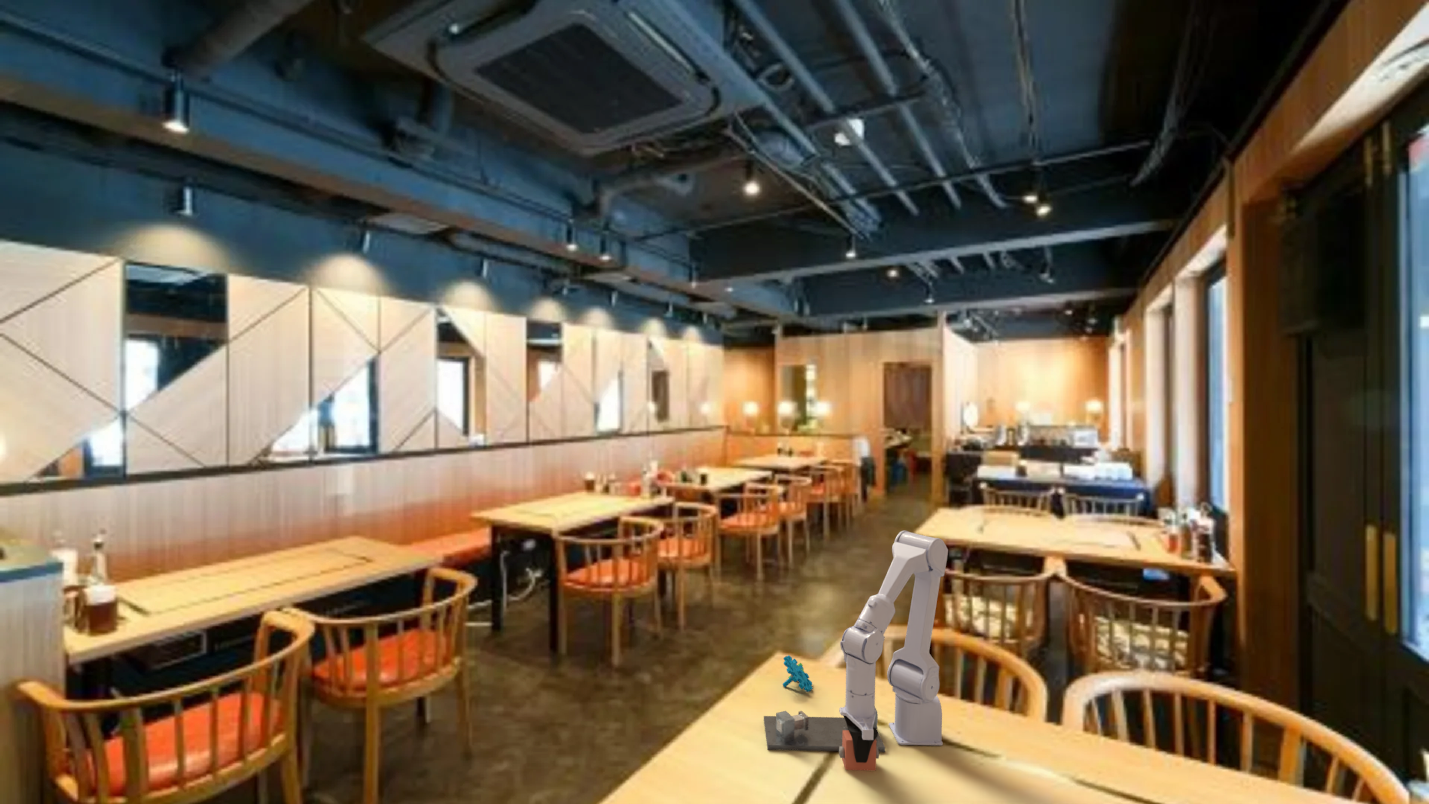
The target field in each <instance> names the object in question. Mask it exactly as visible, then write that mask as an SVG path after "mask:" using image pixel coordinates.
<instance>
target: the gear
mask: <svg viewBox="0 0 1429 804" xmlns="http://www.w3.org/2000/svg"><path fill="white" fill-rule="evenodd" d="M783 660H784V661H783V665H784V666H785V667H787V668H786V672H787V674H790V675H789V676H788V678H787V679H786V680H785V681H784V682H783V683H782V686H783V687H784V688H786V687H787V686H789V685H790V684H791V683H792V682H794V683H796V682H798V687H799V688H800V689H801V690H804V691H805V692H806V693H809V692H811V691H813V689H814V688H813V686H812V685H813V682H812V681H811V680H810V679H809V678H810V676H809V673H806V672H805V669H804V667H803V666H804V665H803V663H801V662H799V663H798V660H797V659H796V658H793V657H792V656H791V655H789V654H788V655H785V657H783Z"/></svg>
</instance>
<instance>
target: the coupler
mask: <svg viewBox="0 0 1429 804" xmlns="http://www.w3.org/2000/svg"><path fill="white" fill-rule="evenodd" d="M838 753H839V758H840V759H841V760H842V763H843V767H844V770H845V771H876V770H877V759H878V760H879V759H880V752H879V750H878V747H876V739H875V740H874V742H873V744H872V746H871V749H870V753H869V756H868V760H867V762H866V763H857V762H856V759H855V755H854V747H853V741H852V737H851V734H850V732H849V730H843V736H842V747H839V751H838Z"/></svg>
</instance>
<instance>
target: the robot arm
mask: <svg viewBox="0 0 1429 804" xmlns="http://www.w3.org/2000/svg"><path fill="white" fill-rule="evenodd" d="M891 547H892V548H891V552H892V557H893V558H892V561H891V564H890V566H889V567H888V570H887V573H885V574H886V575H885V577H884V579H883V581H882V584H881V586H880V589H879V591H878V593H877V594H874V595H871V596H869V598H868V599H867V602H866V603H865V604H864V607H863V609H862V610H861V613H860V614H859V616H858V618H857V619H856V621H855V623H854V624H853V626H850V627H847V628H846V629H845V630H844V632H843V634H842V637H841V641H840V642H839V645H840V650H841V651H842V653H843V661H844V663H846V665H845V667H846V668H845V705H844V707H843V706H842V707H839V714H840V715H841V717H843V718H845V721H846V724H847V728H848V730H849V732H850V734H851V737H852V741H853V747H854V755H855V759H856V762H857V763H866V762H867V760H868V756H869V753H870V749H871V746H872V744H873V742H874V740H875V739H876V738H877V736H878V733H879V731H878V728H877V729H876V728H873V725H874V720H875V708H876V702H875V701H876V667H877V666H876V662H877V661H878V659H879V658H880V657H881V655H882V653H883V649H884V643H885V642H884V641H885V635H884V634H885V633H886V631H887V629H888V628H889V626H890V623H891V622H892V619H893V618H894V615H896V608H895V604H894V603H895V601H896V600H897V598H898V596H899V595H900V594H901V592H902V591H903V589H904V587H905V586H906V585H907V582H908V581H909V580H910V578H911V576H912V575H914V585H913V590H912V595H911V596H912V598H911V601H910V602H911V603H910V609H909V615H908V621H907V627H906V634H905V640H904V646H903V647H901V648H899V649H898V650H896V651H894V652H893V653H892V658H891V661H890V664H889V666H888V668H887V673H886V674H887V675H886V676H887V681H888V684H889V685H890V686H892V692H894V693H895V694H894V696H895V700H894V705H895V706H894V722H889V723H888V727H889V728H890V731H891V732H892V735H893V736H894V738H895V740H896V742H897V744H898V745H903V746H904V745H905V746H907V745H909V746H943V741H942V738H943V737H942V735H943V734H942V733H943V732H942V731H943V710H942V704H941V701H940V698H939V697H938V693H939V690H940V676H939V675H940V674H939V673H940V672H939V671H940V666H939V664H938V663H937V662H936V660H935V659H934V657H932V655H931V654H930V649H931V648H930V647H931V641H932V635H933V628H934V621H935V615H936V608H937V601H938V597H939V589H940V585H941V577H944V576H945V572H946V568H947V567H946V566H947V561H948V553H949V549H948V547H947V545H946V543H945V541H944V540H943V539H942V538H939V537H933V536H928V535H924V534H919V533H915V532H910V531H908V530H901V531H899V532H898V534H897V535H896V537H895V539H894V543H893V544H892V546H891Z"/></svg>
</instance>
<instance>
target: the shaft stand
mask: <svg viewBox="0 0 1429 804" xmlns="http://www.w3.org/2000/svg"><path fill="white" fill-rule="evenodd" d="M878 716H879V715H878V710H877V708H876V707H875V720H874V725H873V728H876V729H877V730H878V723H879V722H878ZM763 725H764V733H765V738H766V740H765V741H766V747H767V750H768V751H803V752H805V751H807V752H809V751H810V752H811V751H812V752H813V751H814V752H839V747H842V736H843V730H848V728H847V724H846V721H845V718H844V717H842V716H841V717H840V716H839V717H837V716H836V717H834V716H830V717H829V716H828V717H827V716H826V717H825V716H808V715H807V714H806V713H805V712H803V711H802V710H800V711H798V713H797V714H795V715H791V714H790V713H789V712H788V711H787V710H783V711H780V712H776V714H775V715H763ZM876 747H878V750H879V753H886V746H885V744H884V742H883V740H882V737H881V735H880V733H879V732H878V736H877V738H876Z"/></svg>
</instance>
